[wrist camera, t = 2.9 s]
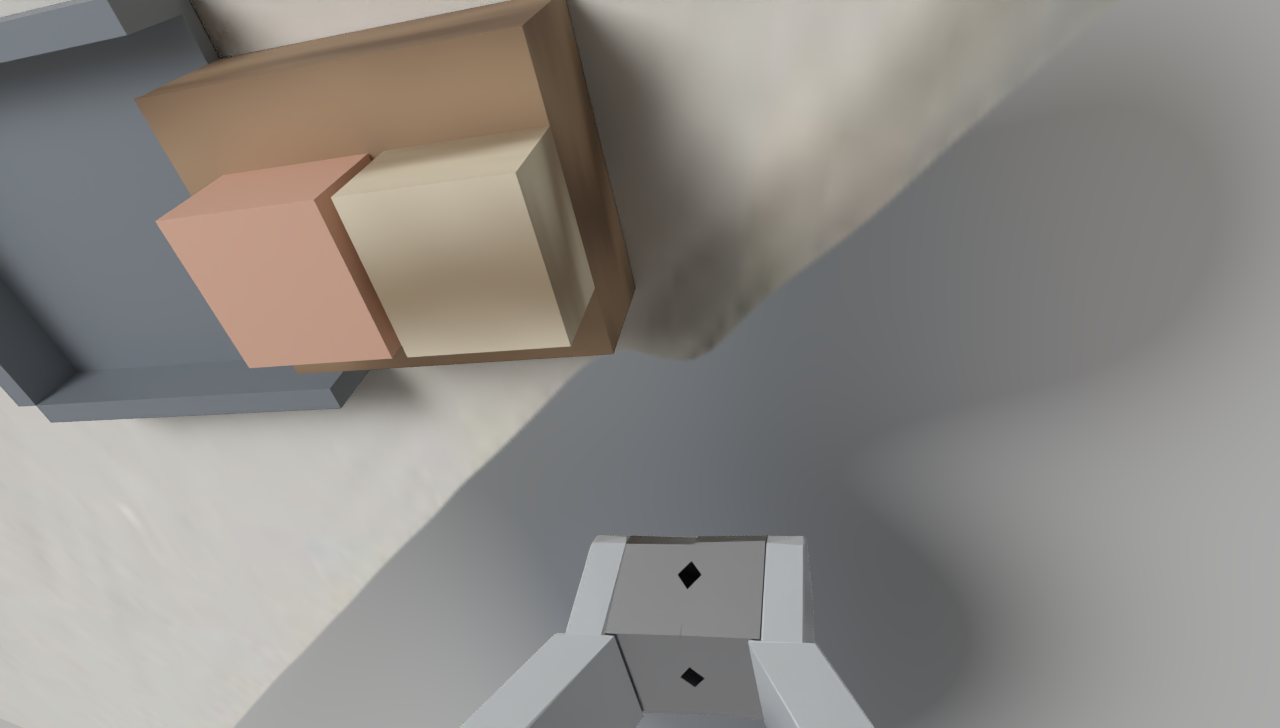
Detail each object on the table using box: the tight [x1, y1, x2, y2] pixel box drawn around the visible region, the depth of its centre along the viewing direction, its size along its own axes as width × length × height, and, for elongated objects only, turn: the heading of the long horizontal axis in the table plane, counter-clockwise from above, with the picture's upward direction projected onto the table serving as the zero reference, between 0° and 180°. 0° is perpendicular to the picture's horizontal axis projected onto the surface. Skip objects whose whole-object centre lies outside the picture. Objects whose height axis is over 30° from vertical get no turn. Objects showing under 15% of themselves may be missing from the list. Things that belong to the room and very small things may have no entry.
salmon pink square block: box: [155, 153, 401, 368], centre depth 22 cm, size 5×5×3 cm
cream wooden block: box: [331, 126, 595, 357], centre depth 20 cm, size 5×5×3 cm
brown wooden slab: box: [134, 0, 635, 374], centre depth 24 cm, size 10×12×4 cm
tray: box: [0, 0, 369, 423], centre depth 28 cm, size 15×16×3 cm
